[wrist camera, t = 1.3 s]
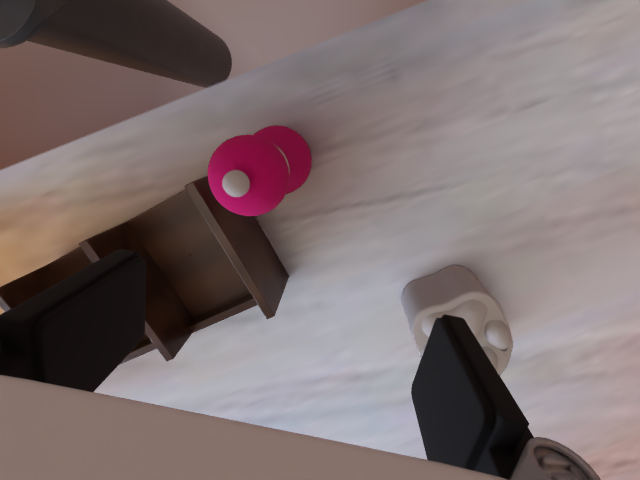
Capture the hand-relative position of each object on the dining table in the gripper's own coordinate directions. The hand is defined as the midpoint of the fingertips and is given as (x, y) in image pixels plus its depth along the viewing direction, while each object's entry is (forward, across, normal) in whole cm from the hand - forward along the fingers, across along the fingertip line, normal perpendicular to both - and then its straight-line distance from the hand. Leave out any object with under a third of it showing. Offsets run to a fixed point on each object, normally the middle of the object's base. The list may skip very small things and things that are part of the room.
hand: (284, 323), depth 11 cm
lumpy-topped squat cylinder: (+32, -19, +15) cm, 40 cm away
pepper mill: (+32, +6, -1) cm, 33 cm away
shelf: (+32, +18, +16) cm, 40 cm away
